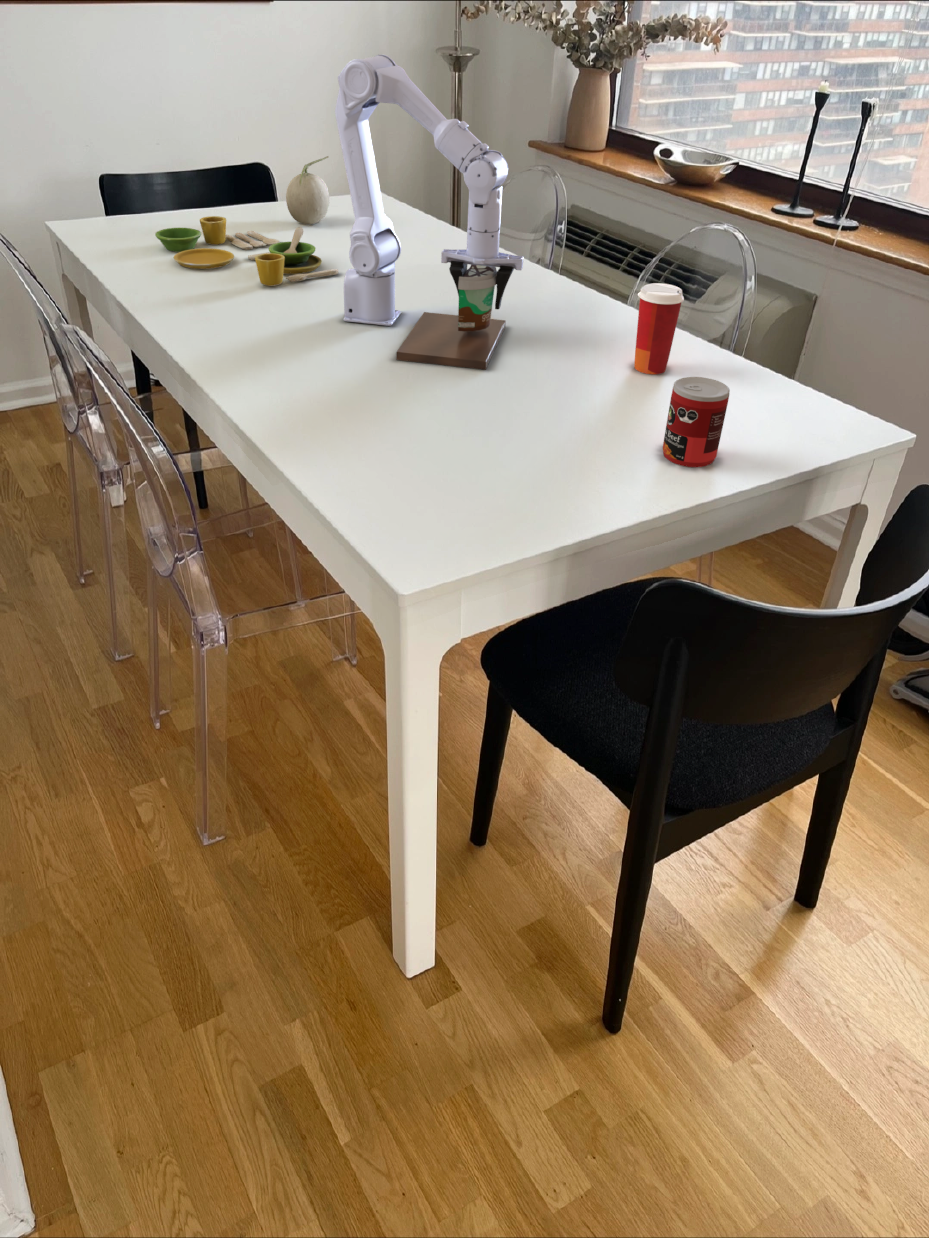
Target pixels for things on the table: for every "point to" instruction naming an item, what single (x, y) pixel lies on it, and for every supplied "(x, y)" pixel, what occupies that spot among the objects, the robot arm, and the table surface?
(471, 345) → the walnut board
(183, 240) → the tableware set
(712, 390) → the canned food
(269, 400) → the table surface
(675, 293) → the paper cup
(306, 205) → the fruit
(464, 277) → the food container
